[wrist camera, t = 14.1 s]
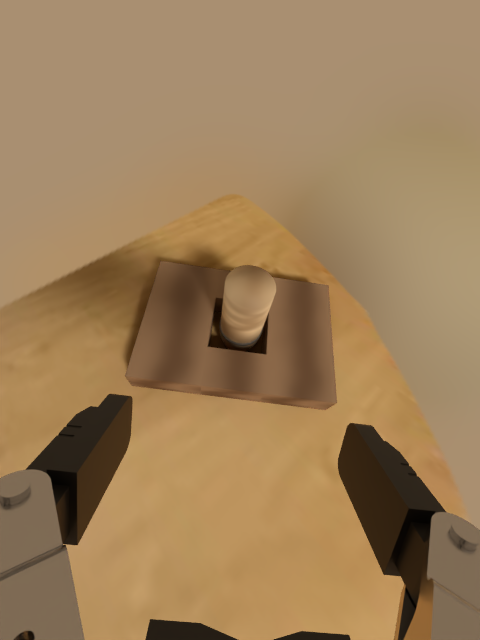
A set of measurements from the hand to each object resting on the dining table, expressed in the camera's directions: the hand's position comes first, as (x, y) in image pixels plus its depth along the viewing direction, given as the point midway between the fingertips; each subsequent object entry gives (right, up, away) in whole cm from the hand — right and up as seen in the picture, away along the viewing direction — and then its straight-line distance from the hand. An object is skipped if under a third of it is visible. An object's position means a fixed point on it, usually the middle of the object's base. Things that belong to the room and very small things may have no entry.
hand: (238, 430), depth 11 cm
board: (0, +2, +22) cm, 22 cm away
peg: (0, +2, +22) cm, 22 cm away
